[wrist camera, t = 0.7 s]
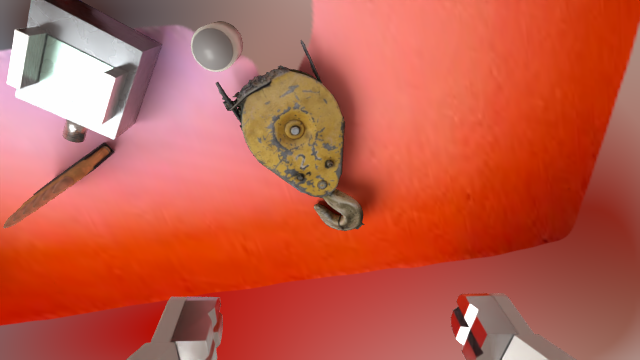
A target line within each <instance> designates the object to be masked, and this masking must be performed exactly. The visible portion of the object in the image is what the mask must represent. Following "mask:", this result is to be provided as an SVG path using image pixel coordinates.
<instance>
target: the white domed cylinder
mask: <svg viewBox="0 0 640 360" xmlns="http://www.w3.org/2000/svg"><path fill="white" fill-rule="evenodd" d="M242 48H243V42H242V38H241V35H240V33H239V32H238V30H237V29H236V28H235V27H234V26H232V25H231V24H229V23H226V22H222V21H219V22H214V23H211V24H208V25H205V26H203V27H201V28H199V29H198V30H197V31H196V32H195V33H194V35H193V37H192V40H191V50H192V54H193V56H194V58H195V60H196V61H197V62H198V63H199V64H200V65H201V66H202V67H203V68H205V69H207V70H209V71H213V72H220V71H224V70H226V69H228V68H229V67H230V66H231V65H232V64H233V63H234V62H235V61H236V60H237V59H238V57H239V56H240V54H241V52H242Z"/></svg>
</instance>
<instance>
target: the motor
mask: <svg viewBox="0 0 640 360" xmlns="http://www.w3.org/2000/svg"><path fill="white" fill-rule="evenodd" d="M161 46H162V44H160V43H158V42H156V41H154V40H152V39H150V38H149V37H147V36H145V35H143V34H141V33H139V32H137V31H136V30H134V29H132V28H130V27H128V26H126V25H124V24H123V23H121V22H118V21H117V20H115V19H113V18H111V17H109V16H108V15H106V14H104V13H102V12H100V11H98V10H97V9H95V8H93V7H91V6H89V5H87V4H85V3H83V2H82V1H80V0H31V5H30V11H29V17H28V23H27V28H22V29H15V33H14V40H13V46H12V52H11V59H10V65H9V72H8V78H7V84H9V85H11V86H14V87H16V93H15V97H17V98H19V99H21V100H24V101H26V102H28V103H31V104H33V105H35V106H37V107H40V108H42V109H44V110H47V111H49V112H51V113H54V114H56V115H58V116H60V117H63V118H65V119H66V123H65V127H64V131H63V137H64V138H65V139H67V140H69V141H72V142H83V141H84V140H85V137H86V133H87V130H88V129H90V130H93V131H95V132H97V133H100V134H102V135H104V136H106V137H109V138H111V139H113V140H115V139H116V138H117V137H118V136H120V135H121V134H122V133H123V132H125V131H126V130H127V129H128V128H130V127H131V126H132V125H133V124H135V121H136V118H137V115H138V112H139V109H140V106H141V104H142V101H143V98H144V95H145V92H146V89H147V86H148V83H149V80H150V78H151V75H152V72H153V69H154V66H155V63H156V60H157V57H158V54H159V52H160V49H161Z"/></svg>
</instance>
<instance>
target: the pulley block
mask: <svg viewBox="0 0 640 360" xmlns="http://www.w3.org/2000/svg"><path fill="white" fill-rule="evenodd" d="M301 44H302V46H303V49H304V51H305V53H306V55H307V57H308V59H309V61H310V64H311V68H312V70H313V72H314V74H315V76H316V78H317V79H315V78H314V77H313V76H311V75H309V74H307V73H304V72H301V71H298V70H294V69H293V70H292V69H288V68H286V67H283V66H279V68H278V69H276V70H272V71H271V72H267V73H266V74H265V75H263V76H257V77H254V79H253V80H249V83H248V84H247V85H245V86H244V87H243V88H242V89H241V91H240V92H238V93H236V94H235V96H233V97H237V98H236V100H235V101H231V99H230V98H229V97H228V96H227V95H226V93H225V92H224V90H223V89H222V87H221V86H220V84H219V83H218V82H217V83H216V85H217V87H218V89H219V92H220V94H221V95H222V96H223V98H222V99H223V100H225V102H223V103H224V105H225V107H226V109H227V110H228V111H231V110H232V111H233V112H234V114H235V116H236V117H237V119H238V120H239V121H240V122H241V125H240V127H241V129H242V131H243V134H244V138H245V141H246V143H247V145H248V147H249V149H250V151H251V152H252V153H253V156H255V157H256V159H257V160H258V161H259V162H260V163H261V164H262V165H263V166H265V167H266V168H268V169H269V170H271V171H272V172H273V173H275V174H276V175H278V176H279V177H280V178H282V179H283V180H285V181H286V182H287V183H289V184H290V185H292V186H293V187H294V188H296V189H297V190H299V191H300V192H302V193H306V194H308V195H310V196H314V197H320V198H323V199H324V200H325V201H326V202H327V203H328V205H330V206H331V207H332V208H333V209H335V210H336V211H338V212H339V213H341V214H342V215H337V214H334V213H333V212H331V211H330V210H328V209H327V208H326V207H325V206H323V205H320V204H319V203H318V204H315V205H314V209H315V210H316V212H317V213H318V215H319V216H320V218H321V219H322V220H323V221H324V223H325V224H327V225H328V226H329V227H331V228H334V229H337V230H342V231H347V230H352V229H359V227H361V226H362V225H364V224H363V223H362V220H363V211H362V208H361V206H360V204H359V203H358V202H357V201H356V200H355V199H353V198H352V197H351V196H349V195H347V194H345V193H343V192H341V191H339V190H338V189H336V187H337V185H338V182H339V178H340V176H341V174H342V162H343V144H344V129H345V121H344V117H342V114H341V111H340V108H339V106H338V103H337V101H336V100H335V98H334V96H333V95H332V94H331V93H330V92H329V90H328V89H327V88H326V87H325V86H324V85H323V84H322V82H321V80H320V78H319V75H318V73H317V71H316V69H315V67H314V64H313V62H312V60H311V57H310V55H309V53H308V51H307V49H306V47H305V44H304V43H303V41H302V40H301ZM280 67H281V69H280ZM237 107H239V108H238V109H237Z"/></svg>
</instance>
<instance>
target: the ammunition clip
mask: <svg viewBox="0 0 640 360" xmlns="http://www.w3.org/2000/svg"><path fill="white" fill-rule="evenodd" d="M113 153H114V151H113V150H112V149H111V148H110V147H109V146H108V145H107V144H106V143H103V144H101V145H100V146H99V147H97V148H96V149H94V150H93V151H92V152H90V153H89V154H88V155H86V156H85V157H83V158H82V159H81V160H79V161H78V162H76V163H75V164H74V165H72V166H71V167H69V168H68V169H67V170H65V171H64V172H63V173H61V174H60V175H58V176H57V177H56V178H54V179H53V180H52V181H50V182H49V183H48V184H46V185H45V186H44V187H42V188H41V189H40V190H39V191H37V192H36V193H35V194H34V196H32V197H31V198H30V199H29V200H27V201H26V202H25V203H24V204H23V205H22V206H21V207H20V208H19V209H18V210H17V211H16V212H15V213H14V214H12V215H11V216H10V217H9V218H8V220H7V221H6V222H5V224H4V228H8V227H11V226H13V225H15V224H17V223H18V222H20V221H21V220H23V219H24V218H25V217H27V216H28V215H30V214H31V213H33V212H35V211H36V210H38V209H39V208H40V207H42V206H43V205H45V204H46V203H47V202H49V201H50V200H52V199H53V198H55V197H56V196H57V195H59V194H60V193H62V192H63V191H65V190H66V189H67V188H69V187H70V186H72V185H73V184H74V183H76V182H77V181H79V180H80V179H82V178H83V177H84V176H86V175H87V174H88V173H90V172H91V171H93V170H94V169H96V168H97V167H98V166H99V165H100V164H101V163H103V162H104V161H105V160H106V159H107V158H108V157H110V156H111V155H112V154H113Z"/></svg>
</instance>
